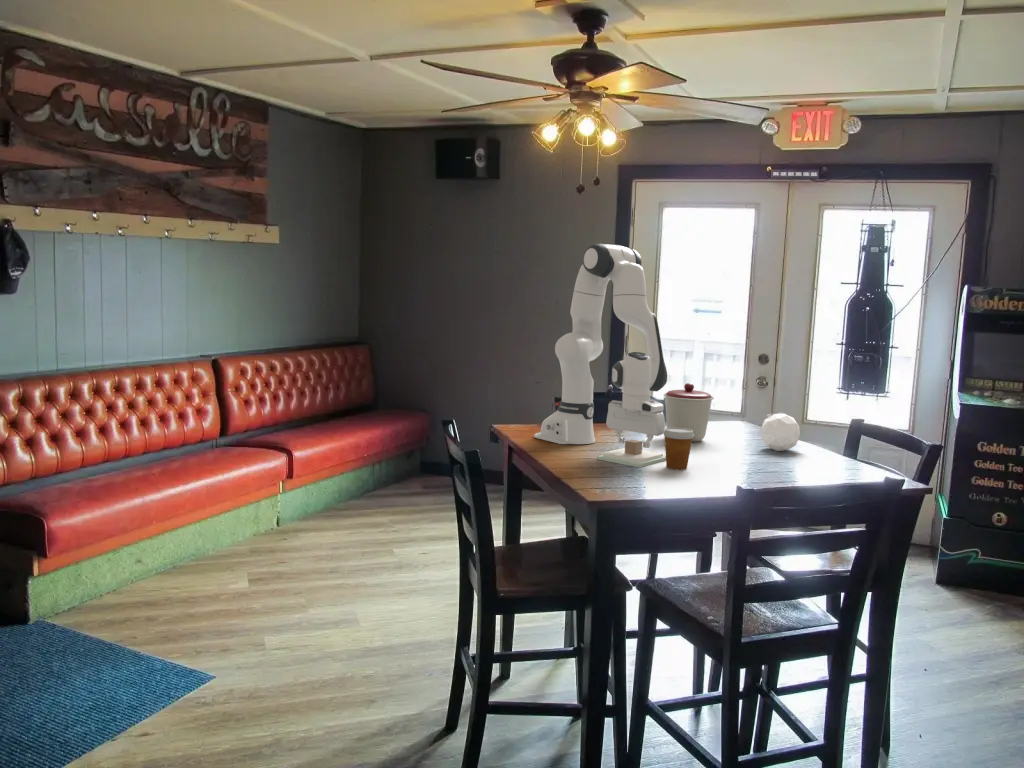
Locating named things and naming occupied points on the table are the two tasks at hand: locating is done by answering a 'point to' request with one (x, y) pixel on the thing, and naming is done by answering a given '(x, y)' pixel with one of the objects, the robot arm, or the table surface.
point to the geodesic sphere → (780, 432)
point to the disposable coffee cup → (677, 447)
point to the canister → (688, 410)
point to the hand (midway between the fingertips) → (633, 445)
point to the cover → (633, 452)
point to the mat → (631, 461)
